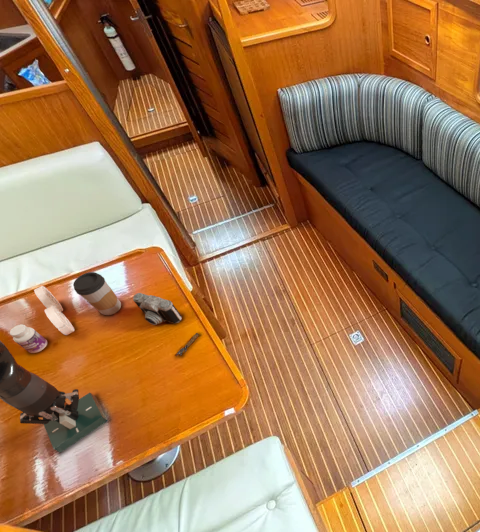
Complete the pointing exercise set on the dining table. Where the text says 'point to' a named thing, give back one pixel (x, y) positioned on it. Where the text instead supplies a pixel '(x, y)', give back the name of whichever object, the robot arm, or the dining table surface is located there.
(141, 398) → the dining table surface
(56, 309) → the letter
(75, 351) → the dining table surface
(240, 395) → the dining table surface
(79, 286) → the coffee cup
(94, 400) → the green switch panel
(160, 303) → the camera
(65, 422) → the tap handle
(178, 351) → the can opener
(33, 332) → the pill bottle
